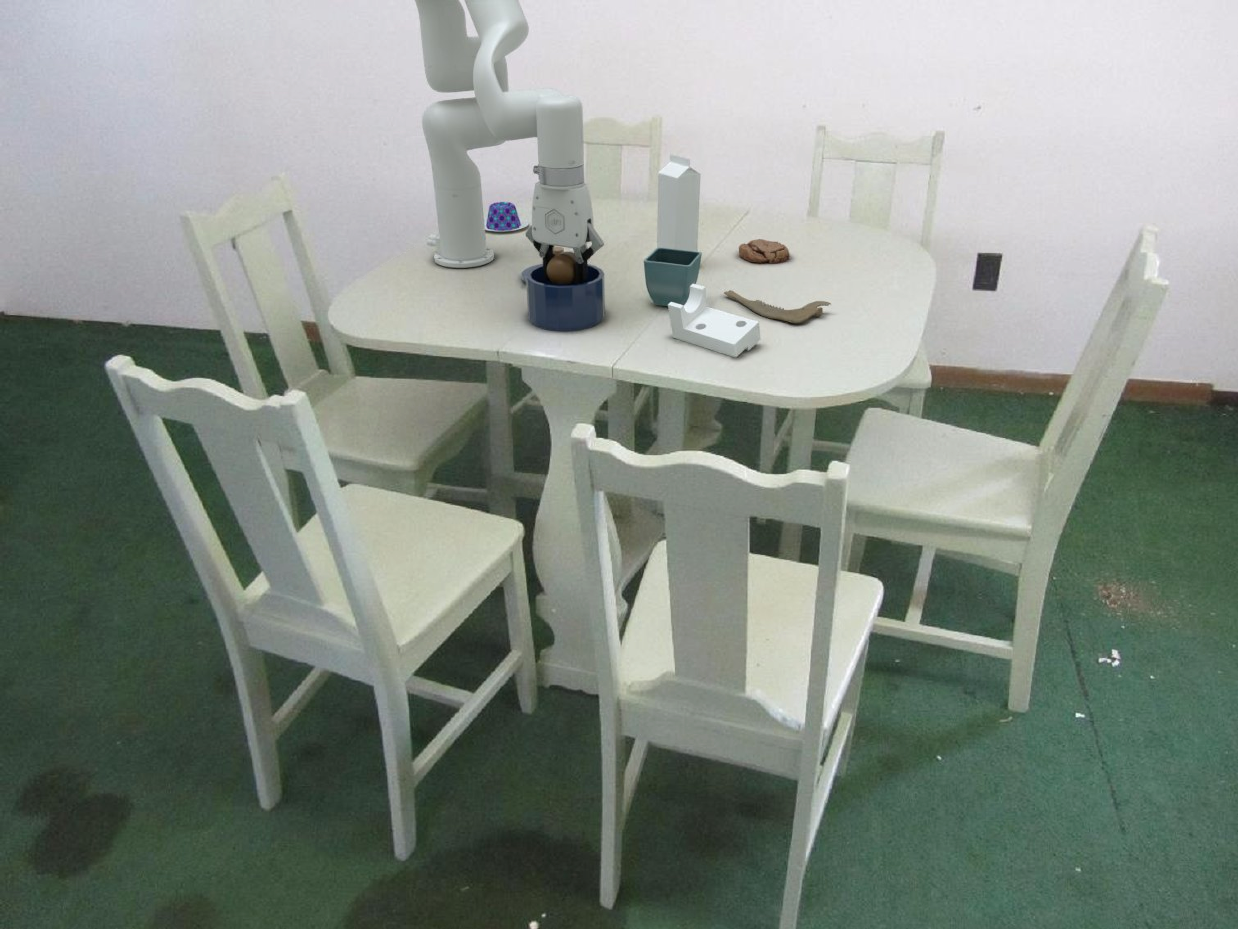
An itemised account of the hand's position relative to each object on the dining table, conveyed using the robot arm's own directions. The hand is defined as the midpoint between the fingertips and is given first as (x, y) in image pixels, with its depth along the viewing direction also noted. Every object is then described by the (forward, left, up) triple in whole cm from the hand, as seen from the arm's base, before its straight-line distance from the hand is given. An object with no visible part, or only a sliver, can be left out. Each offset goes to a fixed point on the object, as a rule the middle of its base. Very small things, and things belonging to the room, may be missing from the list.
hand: (565, 279), depth 160 cm
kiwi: (0, 0, -1) cm, 1 cm away
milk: (+6, +35, -7) cm, 36 cm away
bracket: (+28, +1, -7) cm, 29 cm away
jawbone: (+32, +22, -7) cm, 39 cm away
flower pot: (+14, +15, -7) cm, 22 cm away
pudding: (-42, +43, -7) cm, 61 cm away
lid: (-12, +17, -6) cm, 22 cm away
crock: (0, 0, -7) cm, 7 cm away
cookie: (+20, +49, -7) cm, 53 cm away
